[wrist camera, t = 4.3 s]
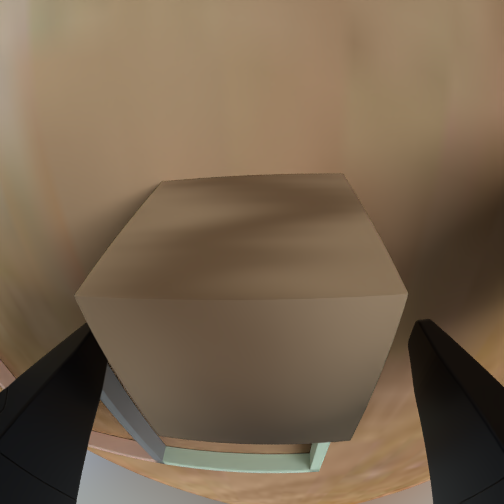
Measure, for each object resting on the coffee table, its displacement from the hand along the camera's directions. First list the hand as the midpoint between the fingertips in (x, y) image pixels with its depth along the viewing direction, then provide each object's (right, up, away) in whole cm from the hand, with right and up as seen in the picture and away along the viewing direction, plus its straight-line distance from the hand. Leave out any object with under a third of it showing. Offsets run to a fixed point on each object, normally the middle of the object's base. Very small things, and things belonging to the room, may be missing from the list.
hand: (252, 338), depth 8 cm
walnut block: (0, +2, +4) cm, 4 cm away
